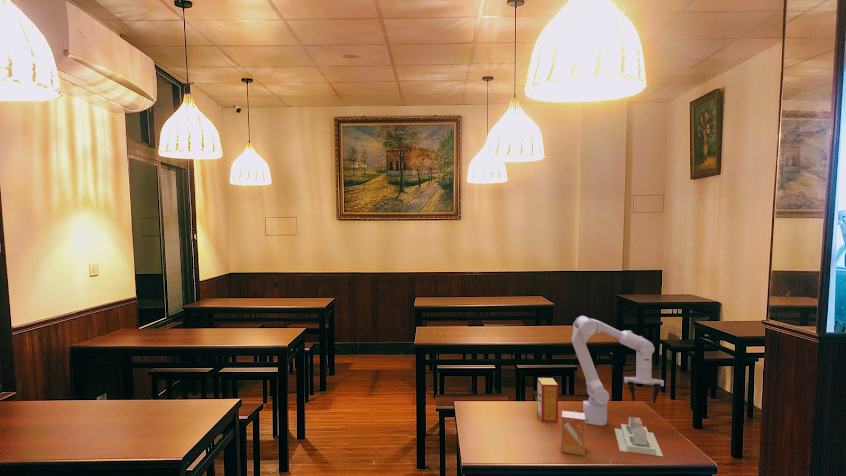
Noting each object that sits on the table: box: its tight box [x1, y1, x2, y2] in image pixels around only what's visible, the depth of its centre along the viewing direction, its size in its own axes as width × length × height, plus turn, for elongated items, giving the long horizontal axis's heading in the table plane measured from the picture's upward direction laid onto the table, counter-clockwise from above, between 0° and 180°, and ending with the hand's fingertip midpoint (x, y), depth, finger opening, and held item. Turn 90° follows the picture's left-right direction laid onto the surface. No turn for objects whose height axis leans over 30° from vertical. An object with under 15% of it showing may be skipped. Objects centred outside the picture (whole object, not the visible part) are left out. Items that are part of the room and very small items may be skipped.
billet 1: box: [628, 416, 643, 434], centre depth 180 cm, size 4×6×6 cm, turn 163°
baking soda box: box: [536, 377, 559, 424], centre depth 199 cm, size 10×6×16 cm
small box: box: [560, 410, 586, 457], centre depth 170 cm, size 8×6×13 cm
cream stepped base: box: [614, 423, 664, 457], centre depth 175 cm, size 14×20×3 cm
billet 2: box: [632, 427, 647, 447], centre depth 171 cm, size 4×6×6 cm, turn 163°
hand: (643, 401), depth 193 cm, fingers open, 7 cm apart
